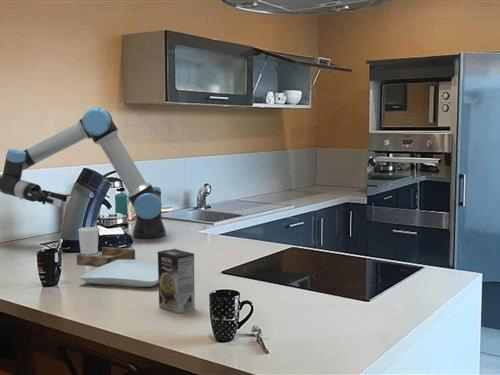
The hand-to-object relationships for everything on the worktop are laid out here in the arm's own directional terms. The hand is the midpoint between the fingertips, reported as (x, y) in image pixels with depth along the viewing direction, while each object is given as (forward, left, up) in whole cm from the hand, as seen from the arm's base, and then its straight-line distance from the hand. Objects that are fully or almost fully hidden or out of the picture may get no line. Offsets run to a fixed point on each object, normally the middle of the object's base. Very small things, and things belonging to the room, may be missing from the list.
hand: (70, 203), depth 246 cm
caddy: (-13, +25, -20) cm, 34 cm away
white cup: (-7, +7, -20) cm, 22 cm away
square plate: (-21, +54, -21) cm, 61 cm away
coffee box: (-29, +92, -20) cm, 99 cm away
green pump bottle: (-25, -59, -20) cm, 67 cm away
